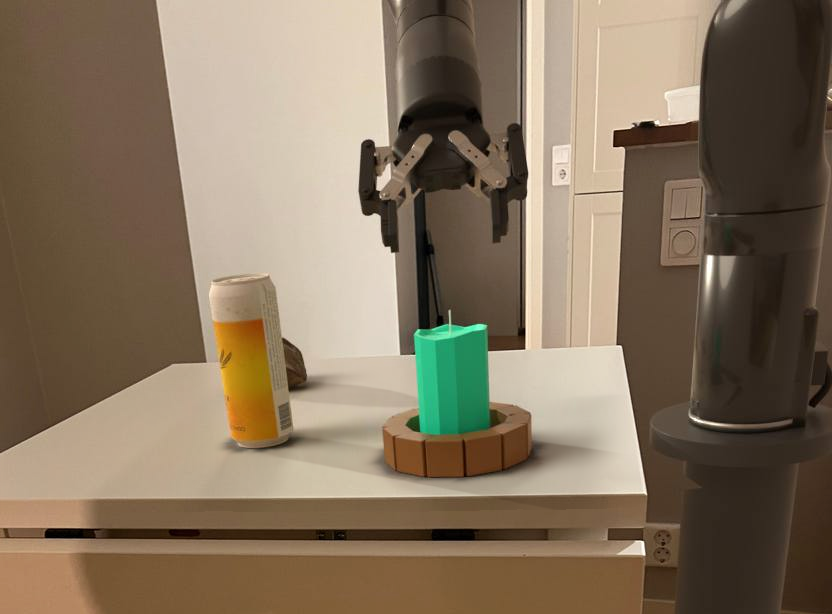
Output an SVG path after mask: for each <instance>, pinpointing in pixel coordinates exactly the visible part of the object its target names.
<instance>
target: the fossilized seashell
mask: <svg viewBox="0 0 832 614" xmlns="http://www.w3.org/2000/svg"><path fill="white" fill-rule="evenodd" d="M282 342H283V350H284V358H285V366H286V374H287V382H288V389H289V388H293V387H295V386H298V385H301V384H303V383H306V381H308V373H307V368H306V365H305V359H304V356H303V353H302V351H301V350H300V349H299V348H298V347H297V346H296V345H295V344H293V343H292V342H291V341H289V340H288V339H287V338H285V337H283V336H282Z"/></svg>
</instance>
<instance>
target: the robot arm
mask: <svg viewBox="0 0 832 614" xmlns="http://www.w3.org/2000/svg"><path fill="white" fill-rule="evenodd" d="M386 2H387V5H388V7H389V10H390V13H391V15H392V18H393V20H394V22H395V23H394V24H395V25H396V46H397V47H396V48H397V49H396V50H397V51H396V52H397V54H396V60H395V61H396V63H395V72H394V73H395V74H394V75H395V77H394V78H395V81H394V82H395V105H396V106H395V108H396V109H395V110H396V138H395V140H394V141H393V143H392V145H387V146H376V142H375V140H373V139H371V138H368V139H364V140H363V141H361V143H360V155H359V172H358V173H359V174H358V190H357V191H358V192H357V193H358V197H359V203H360V209H361V213H362V215H363V216H366V217H370V216H373V215H375V214H376V215H378V216H380V235H381V242H382V243H381V244H382V245H383V246H384V248H390V254H397V253H400V234H399V233H400V231H399V230H400V229H399V228H400V227H399V213H400V212H401V210H402V209H403V208H404V207H405V205H407V206H409V205H410V204H411V203H412V202H413V200H414V199H415V198H416V197H417V195H419V193H420V192H421V191H422V190H423V191H424V193H425V194H430V193H435V192H438V191H441V190H449V191H455V190H457V191H458V190H462V187H463V186H465V187H466V188H468V190H469V191H470V192H472V193H473V194H474V195H475V196H476V197H478V198H480V197H482V198H483V199H484V200H485V201H487V203H489V216H490V231H491V243H492V245H493V244H501V240H502V237H505V236H507V235H508V232H509V223H510V220H509V219H510V218H509V217H510V215H509V203H511V201H514V200H516V201H518V202H520V201H524V200H525V199H527V197H528V180H529V167H528V162H527V155H526V150H525V142H524V138H523V136H524V135H523V129H522V126H521V125H520V124H519V123H517V122H513V123H512V122H511V123H510V124H508V125H507V127H506V132H500V133H495V134H489V132H488V131H487V130H486V128H485V126H484V113H483V100H482V80H481V67H480V60H479V54H478V50H477V47H476V46H477V45H476V34H475V18H474V7H473V3H472V0H386ZM700 64H701V65H700V76H699V77H700V78H699V97H698V98H699V99H698V100H699V101H698V102H699V103H698V130H697V131H698V133H697V134H698V135H697V136H698V139H697V166H698V174H699V178H700V181H701V185H702V187H703V188H702V190H703V207H702V211H703V212H702V220H701V221H702V222H701V238H700V252H699V267H698V284H697V298H696V311H695V313H696V314H695V328H694V343H693V357H692V358H693V359H692V373H691V386H690V387H691V389H690V396H689V401H690V409H689V415H688V420H689V422H690V423H691V424H692V425H694V426H696V427H699V428H702V429H706V430H710V431H716V432H725V433H743V434H745V433H765V432H773V431H779V430H784V429H788V428H795V427H806V420H807V412H808V405H809V406H811V407H813V408H815V407H816V406H817V404H820V403H821V402H822V400H823V399H824V398H825V397H826V396H827V395H828V394H829V392H830V391H831V388H832V368H831V367H830V363H829V361H828V358H829V350H828V349H827V347H826V346H825V345H824V344H823V342H822V341H821V340H817V337H818V336H817V335H818V330H819V323H820V322H819V321H820V310H819V308H817V307H816V303H817V302H816V301H817V293H818V285H819V277H820V269H821V268H820V267H821V260H822V252H823V243H824V235H825V227H826V218H827V210H828V204H827V203H828V202H829V195H830V188H831V187H830V186H831V178H832V177H831V175H832V173H831V172H832V171H831V169H832V168H831V165H830V162H829V161H828V158H827V153H826V152H827V151H826V143H825V130H826V119H827V108H828V98H829V92H830V90H832V0H721V1H720V2H719V4H718V5H717V7H716V9H715V10H714V13H713V15H712V17H711V19H710V21H709V24H708V27H707V30H706V34H705V38H704V42H703V48H702V55H701V62H700ZM491 153H496V154H497V155H498V158H499V159H500V160H501V161H502V163H503V164H507V165H508V166H507V167H508V172H509V176H507V177H505V176H504V175H503V174H502V173H500V171H499V170H497V169H496V168H495V167H494V166H493V164H492V161H491V159H490V158H489V156H490V154H491ZM389 164H393V165H394V167H395V168H394V170H393V172H392V176H391V178H390V179H389V180H388V181H387V182H386V184H385V186H383V188H381V190H378V189H377V185H378V177H379V178H380V177H382V176H383V173H384V172H385V171H386V167H387V166H388V165H389ZM812 386H820V388H819V389H818V390H817V391H816V393H815V394H813V396H812V397H811V398H810V395H811V387H812Z"/></svg>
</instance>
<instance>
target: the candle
mask: <svg viewBox="0 0 832 614" xmlns="http://www.w3.org/2000/svg"><path fill="white" fill-rule="evenodd" d="M451 313H452V311H451V309H449V310H448V323H446V324H443V325H440V326H437V327H434V328H431V329H423V328H422V329H417V330H416V331H415V333H413V339H414V354H415V370H416V385H417V387H416V388H417V402H418V408H419V419H420V433H427V434H433V435H442V434H464V433H470V432H476V431H482V430H487V429H490V403H489V402H490V374H489V372H490V371H489V370H490V369H489V340H488V338H489V336H488V335H489V334H488V325H487V324H483V323H477V324H472V325H469V326H461V325H457V324H456V325H455V324H452V314H451Z"/></svg>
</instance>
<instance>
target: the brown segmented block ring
mask: <svg viewBox="0 0 832 614" xmlns="http://www.w3.org/2000/svg"><path fill="white" fill-rule="evenodd" d="M489 403H490V429H487V430H482V431H476V432H470V433H464V434H442V435H433V434H427V433H420V419H419V407H416V408H411V409H409V410H406V411H402V412H401V413H398V414H395V415H392V416H391V417H389V418H388V419H387V421H386V422H385V423H384V424H383V425H382V426H381V431H382V432H381V433H382V441H383V442H382V443H383V454H384V456H383V457H384V462H385V463H386V464H387V465H388V466H390V468H391V469H392V470H394V471H396V472H399V473H403V474H409V475H413V476H418V477H422V478H423V477H428V478H454V477H455V478H462V477H463V478H464V476H467V477H472V476H477V475H478V476H479V475H482V474H483V475H484V474H489V473H493V472H499V471H502V469H503V470H507V469H509V468H511V467H513V466H515V465H518V464H520V463H522V462H524V461H527V460H528V458H529V457H530V453H531V450H532V448H533V441H532V440H533V439H532V438H533V437H532V432H533V431H532V429H533V428H532V413H531V412H530V411H529V410H526V409H524V408H522V407H521V406H519V405H517V404H516V405H514V404H510V403H503V402H495V401H489Z"/></svg>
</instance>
